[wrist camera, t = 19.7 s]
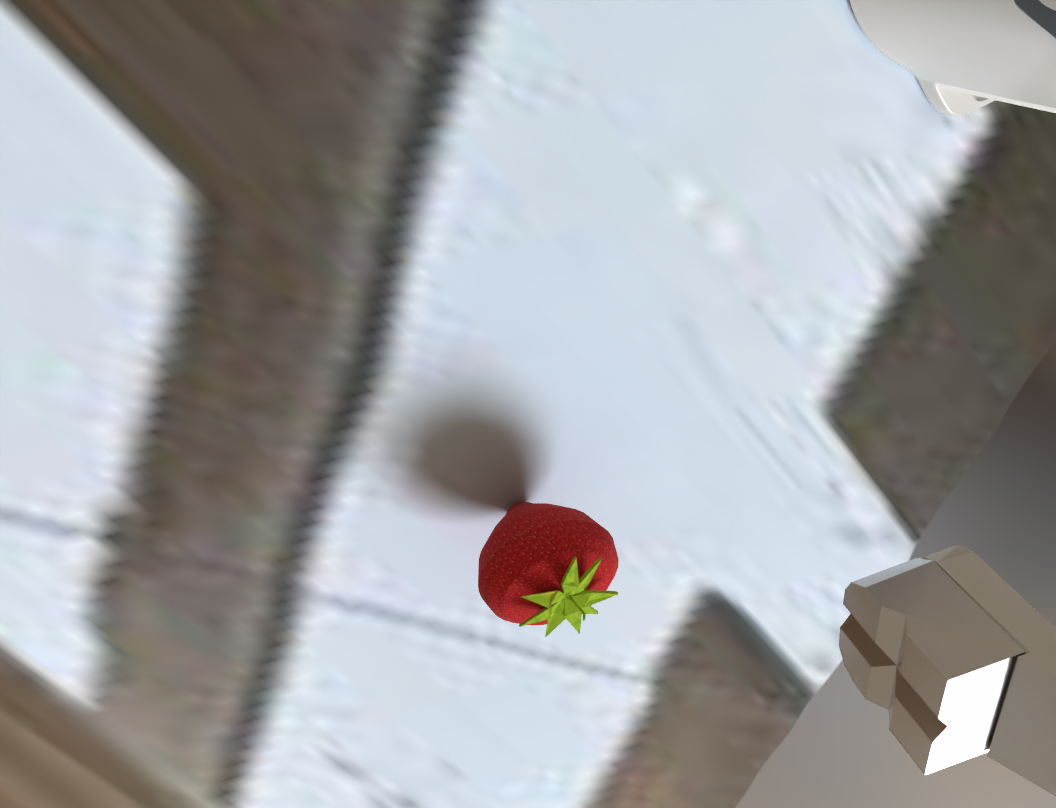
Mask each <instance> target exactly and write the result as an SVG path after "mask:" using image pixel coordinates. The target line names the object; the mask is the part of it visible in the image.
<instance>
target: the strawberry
mask: <svg viewBox="0 0 1056 808" xmlns="http://www.w3.org/2000/svg"><path fill="white" fill-rule="evenodd" d="M617 568H618V556H617V552H616V549H615V545H614V541H613V538H612V536H611V535H610V533H609V532H608V531H607V530H606V529H604V528H603V527H602V526H600V525H599V524H598V523H597V522H595V521H594V520H593V519H591V518H590V517H589V516H587V515H586V514H585V513H583V512H581V511H578V510H576V509H572V508H567V507H562V506H557V505H552V504H533V503H529V502H521V503H517V504H515V505H513V506H512V507H511V508H510V509H509V510H508V511H507V513H506V515H505V516H504V517H503V519H502V520H501V521H500V522H499V523H498V524H497V525H496V527H495V528H494V530H493V532H492V533H491V535H490V537H489V538H488V540H487V542H486V544H485V545H484V547H483V549H482V551H481V554H480V558H479V576H478V587H479V592H480V595H481V597H482V599H483V600H484V601H485V602H486V604H487V605H488V606H489V607H490V609H491V610H492V611H493V612H494V613H495V614H496V615H497V616H498V617H500V618H502V619H503V620H506V621H509V622H513V623H519V626H524V625H544V624H547V629H546V636H547V635H548V634H549V633H551V632H552V631H553V630H554V629H555V628H556V627H557V626H558V625H559V624H560V623H561V622H562V621H563V620H565V619H567V620H568V621H569V622H570V623H571V625H572V626H573V627H574V628H575V629H576V630H577V631H578V633H579V634H580V625H581V614H583V621H584V620H585V614H598V611H597V610H595V609H594V608H593V607H591V605H592V604H595V603H597V602H600V601H602V600H605V599H607V598H610V597H612V596H615V595H617V594H618V592H616V591H606V590H607V588H608V587H609V585H610V583H611V581H612V580H613V578H614V576H615V574H616V571H617ZM546 636H545V637H546Z"/></svg>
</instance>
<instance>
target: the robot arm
mask: <svg viewBox="0 0 1056 808" xmlns="http://www.w3.org/2000/svg"><path fill="white" fill-rule="evenodd" d="M850 4H851V7H852V10H853V12H854V15H855V17H856V19H857V21H858V23H859V25H860V27H861V29H862V31H863V32H864V34H865V35H866V37H867V38H868V39H869V41H870V42H871V43H872V44H873V45H874V46H875V48H876V49H877V50H879V51H880V52H881V53H882V54H883V55H884V56H886V57H887V58H888V59H890V60H892V61H893V62H895V63H897V64H898V65H900V66H902V67H904V68H905V69H907V70H908V71H910V72H911V73H912V74H913V75H914V76H915V77H916V78H917V79H918V81H919V83H920V86H921V88H922V90H923V92H924V94H925V96H926V98H927V99H928V101H929V103H930V104H931V106H932V107H933V108H934V109H935V110H936V111H937V112H939V113H941V114H946V115H951V116H963V115H965V114H968V113H970V112H972V111H974V110H976V109H978V108H980V107H982V106H985V105H987V104H989V103H991V102H993V101H995V100H998V101H1003V102H1007V103H1012V104H1016V105H1021V106H1025V107H1030V108H1035V109H1039V110H1044V111H1049V112H1053V113H1056V0H850ZM843 604H844V605H845V607H846V608H847V609H848V610H849V611H850V613H851V614H850V616H849V617H848V618H847V619H846V621H845V622H844V623H843V625H842V626H841V627H840V639H839V647H840V651H841V654H842V658H843V661H844V665H845V667H846V669H847V671H848V672H849V675H850V676H851V678H852V680H853V682H854V683H855V685H856V686H857V688H858V689H859V690H860V691H861V693H862V694H863V695H864V697H865V698H866V699H867V700H869V701H871V702H873V703H875V704H877V705H879V706H881V707H884V708H886V709H888V710H889V730H890V731H891V732H892V734H893V735H894V736H895V737H896V739H897V740H898V741H899V743H900V744H901V745H902V746H903V748H904V749H905V750H906V752H907V753H908V754H909V755H910V757H911V758H912V759H913V761H914V762H915V763H916V764H917V766H918V767H919V768H920V770H921V771H922V772H923V773H924V774H925V775H927V774H929V773H932V772H935V771H937V770H940V769H943V768H945V767H948V766H951V765H954V764H956V763H959V762H962V761H964V760H967V759H970V758H972V757H975V756H978V755H980V754H983V753H986V752H988V755H987V756H988V757H989V758H991V759H993V760H995V761H996V762H998V763H1000V764H1001V765H1003V766H1005V767H1007V768H1008V769H1010V770H1012V771H1014V772H1015V773H1017V774H1019V775H1020V776H1022V777H1024V778H1026V779H1027V780H1029V781H1031V782H1032V783H1034V784H1036V785H1038V786H1039V787H1041V788H1043V789H1044V790H1046V791H1048V792H1050V793H1051V794H1053V795H1055V796H1056V628H1055V627H1054V626H1053V625H1052V624H1050V623H1049V622H1048V621H1047V620H1046V619H1045V618H1044V617H1043V616H1042V615H1041V614H1040V613H1038V612H1037V611H1036V610H1035V609H1034V608H1033V607H1032V606H1031V605H1030V604H1029V603H1028V602H1027V601H1026V600H1024V599H1023V598H1022V597H1021V596H1020V595H1019V594H1018V593H1017V592H1016V591H1015V590H1014V589H1012V588H1011V587H1010V586H1009V585H1008V584H1007V583H1006V582H1005V581H1004V580H1003V579H1002V578H1001V577H1000V576H998V575H997V574H996V573H995V572H994V571H993V570H992V569H991V568H990V567H989V566H988V565H987V564H985V563H984V562H983V561H982V560H981V559H980V558H979V557H978V556H977V555H976V554H975V553H974V552H972V551H971V550H970V549H968V548H965V547H963V546H961V545H957V546H951V547H949V548H946V549H943V550H941V551H938V552H935V553H933V554H930V555H927V556H925V557H922V558H916V559H913V560H910V561H907V562H905V563H902V564H899V565H897V566H894V567H891V568H889V569H886V570H883V571H881V572H878V573H875V574H873V575H870V576H867V577H865V578H862V579H859V580H857V581H854V582H851V584H850V585H849V586H848V587H847V588H846V589H845V595H844V601H843Z"/></svg>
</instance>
